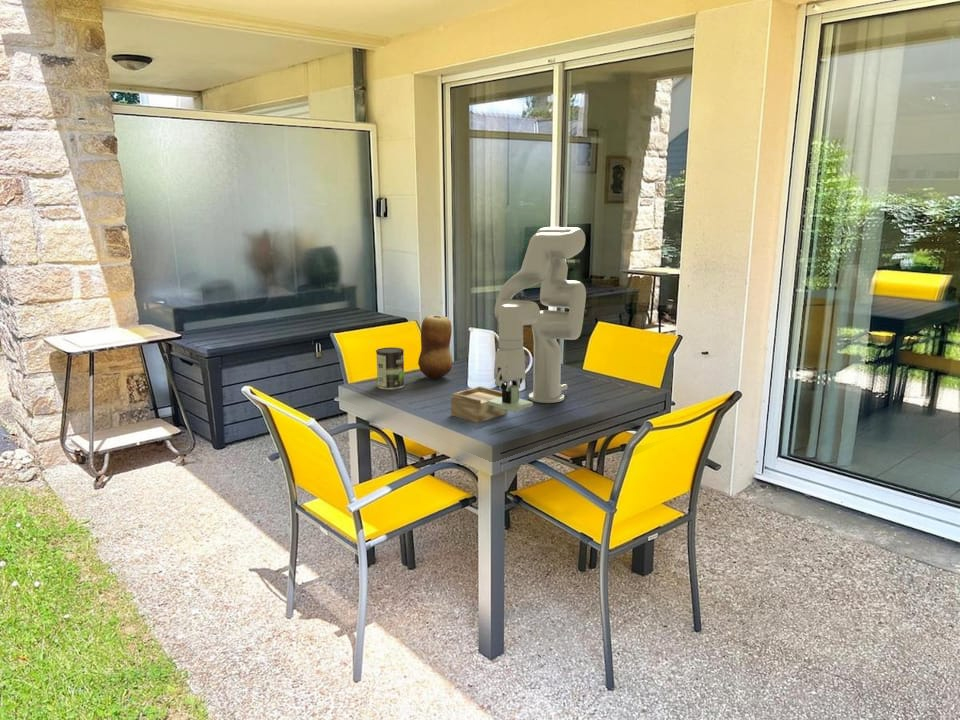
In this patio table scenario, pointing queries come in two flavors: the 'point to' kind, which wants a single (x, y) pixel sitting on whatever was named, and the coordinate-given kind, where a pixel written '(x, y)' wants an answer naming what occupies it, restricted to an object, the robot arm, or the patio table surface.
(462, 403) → the box
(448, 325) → the butternut squash
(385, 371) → the coffee can
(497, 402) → the cover plate
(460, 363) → the patio table surface
